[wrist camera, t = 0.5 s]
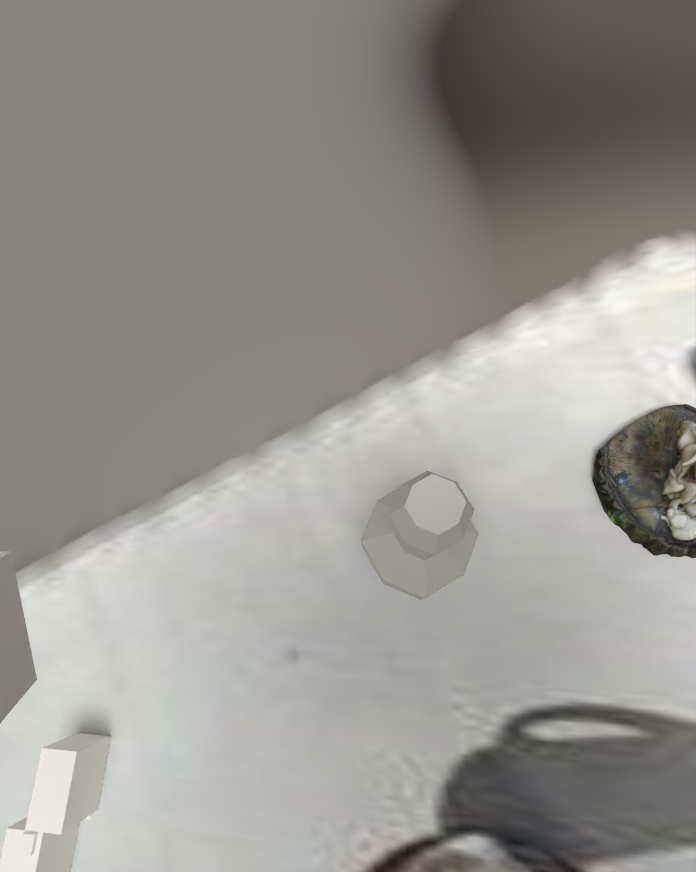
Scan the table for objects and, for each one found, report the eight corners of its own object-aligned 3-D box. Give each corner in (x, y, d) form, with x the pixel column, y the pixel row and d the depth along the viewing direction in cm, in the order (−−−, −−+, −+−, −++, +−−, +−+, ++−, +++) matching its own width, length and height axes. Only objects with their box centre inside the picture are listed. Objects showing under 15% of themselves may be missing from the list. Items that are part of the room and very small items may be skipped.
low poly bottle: (416, 617, 43) (447, 623, 22) (351, 559, 44) (321, 511, 23) (470, 551, 44) (550, 496, 23) (405, 496, 45) (424, 397, 24)
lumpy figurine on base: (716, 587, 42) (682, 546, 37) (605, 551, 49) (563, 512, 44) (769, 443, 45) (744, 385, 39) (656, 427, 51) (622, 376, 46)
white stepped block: (49, 981, 38) (-7, 1044, 32) (-49, 841, 41) (-117, 876, 35) (215, 793, 41) (188, 821, 35) (112, 673, 43) (72, 682, 38)
